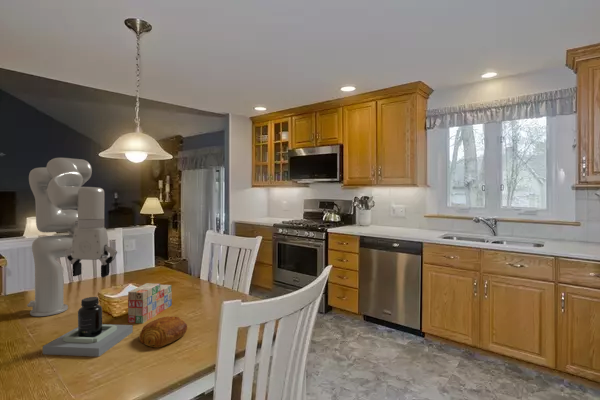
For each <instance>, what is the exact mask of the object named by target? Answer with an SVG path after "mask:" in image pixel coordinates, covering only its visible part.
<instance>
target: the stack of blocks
mask: <svg viewBox="0 0 600 400" xmlns="http://www.w3.org/2000/svg"><path fill="white" fill-rule="evenodd" d="M127 293H128V295H127V297H128V298H127V313H128V315H127V322H128V323H129V324H144V323H146V322H147V321H149V320H151V319H153V318H154V317H156V316H157V315H158V314H160V313H162V312H163V311H165V310H166V309H168V308H169V307H171V306H172V303H173V302H172V301H173V298H172V295H173V294H172V293H173V292H172V284H161V283H150V282H149V283H147V282H146V283H144V284H143V285H140V286H138V287H136V288H134V289H132V290H128V292H127Z"/></svg>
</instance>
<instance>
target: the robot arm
mask: <svg viewBox="0 0 600 400" xmlns="http://www.w3.org/2000/svg"><path fill="white" fill-rule="evenodd" d="M92 171H93V168H92V165H91V164H90V163H89V161H87V160H85V159H81V158H80V159H79V158H70V157H54V158H52V159H51V160H48V162H47V163H46V166H45V167H35V168H33V169H32V170H30V172H29V175H28V182H29V183H28V184H29V186H30V190H31V192H32V194H33V196H34V197H33V198H34V199H35V200H34V201H35V225H36V229H37V231H39V232H40V233H47V234H48V233H63V232H64V233H65V232H67V233H68V234H58V235H57V234H56V235H45V236H40V237H37V238H36V239H35V240H33V242H32V244H31V251H32V254H33V255H32V256H33V261H34V263H33V264H34V300H30V301H29V303H27V304H26V305H27V306H26V307H29V308H30V307H31V308H32V309H31V310H30V311H29V315H30V316H32V317H47V316H49V317H50V316H53V315H58V314H61V313H63V312H64V313H65V312H66V311H67V310H68V309H69V305H68V304H66V303H64V267H63V265H62V264H61V263H60V262H59V261H57V259H59V258H66V259H68V261H69V262H70V264H71V265H72V277H77V276H80V275H82V269H83V268H82V262H81V261H82V260H87V261H90V260H91V261H92V260H93V261H97V260H99V261H100V262H101V266H100V277H101V278H106V277H107V276H109V275H110V267H111V265H110V264H111V263H112V262H113V261H114V260H115V259H116V256H117V254H118V251H117V250H116V249H114V248H112V247H110V246H109V236H108V232H107V228H106V227H105V190H104V189H103V188H101V187H95V186H83V185H85V183H87V181H89V180H90V179H91V177H92V173H93V172H92ZM109 254H110V255H109Z"/></svg>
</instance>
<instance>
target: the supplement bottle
mask: <svg viewBox="0 0 600 400" xmlns="http://www.w3.org/2000/svg"><path fill="white" fill-rule="evenodd" d="M80 300H81V303H80V305H81V307H80V308H79V309H78V311H77V327H78V336H79V337H95V336H98V335H99V334H101V333H102V324H103V308H102V306H101V305H100V304H99V297H97V296H90V297H89V296H88V297H85V298H83V299H80Z"/></svg>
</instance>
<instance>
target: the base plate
mask: <svg viewBox="0 0 600 400" xmlns="http://www.w3.org/2000/svg"><path fill="white" fill-rule="evenodd" d="M133 329H134V328H133V324H111V323H109V324H106V323H104V324H103V323H102V333H101V334H99V335H98V336H95V337H79V336H78V326H77V327H75V328H73V329H72V330H70V331H68V332H66V333H64V334H63V335H61V336H59V337H56V338H55V339H54V340H52V341H50V342H48V343H46V344H44V345H43V346H42V355H51V356H52V355H53V356H77V357H79V356H80V357H100V356H102V355H103V354H105V353H106V352H107V351H109V350H110V349H112V348H113V347H114V346H116V345H117V344H119V343H120V342H121V341H123V339H126V338H127V337H128V336H129V335H131V334H133Z"/></svg>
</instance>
